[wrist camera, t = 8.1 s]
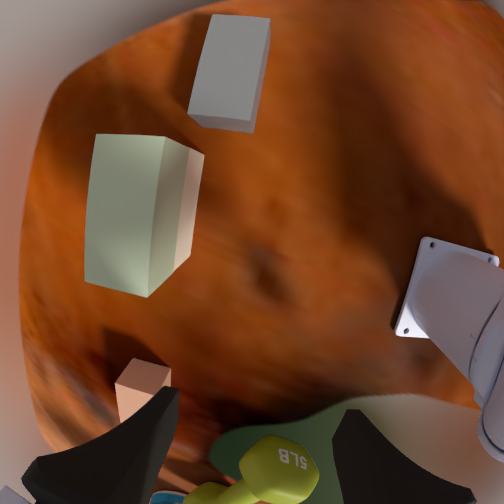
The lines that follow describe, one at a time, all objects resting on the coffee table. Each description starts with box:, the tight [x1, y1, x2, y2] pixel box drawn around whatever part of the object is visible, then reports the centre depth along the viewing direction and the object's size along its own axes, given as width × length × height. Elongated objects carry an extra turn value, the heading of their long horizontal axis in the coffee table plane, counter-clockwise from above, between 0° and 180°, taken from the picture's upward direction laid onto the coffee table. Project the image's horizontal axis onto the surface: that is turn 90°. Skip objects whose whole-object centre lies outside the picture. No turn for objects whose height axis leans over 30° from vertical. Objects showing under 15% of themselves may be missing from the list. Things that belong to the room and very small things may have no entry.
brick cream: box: [174, 147, 205, 270], centre depth 17 cm, size 4×7×4 cm, turn 170°
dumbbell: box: [183, 435, 319, 504], centre depth 22 cm, size 16×8×7 cm, turn 146°
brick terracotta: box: [115, 358, 171, 423], centre depth 21 cm, size 4×7×4 cm, turn 170°
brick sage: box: [85, 134, 190, 297], centre depth 14 cm, size 4×7×4 cm, turn 170°
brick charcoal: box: [187, 14, 270, 134], centre depth 16 cm, size 4×7×4 cm, turn 170°
